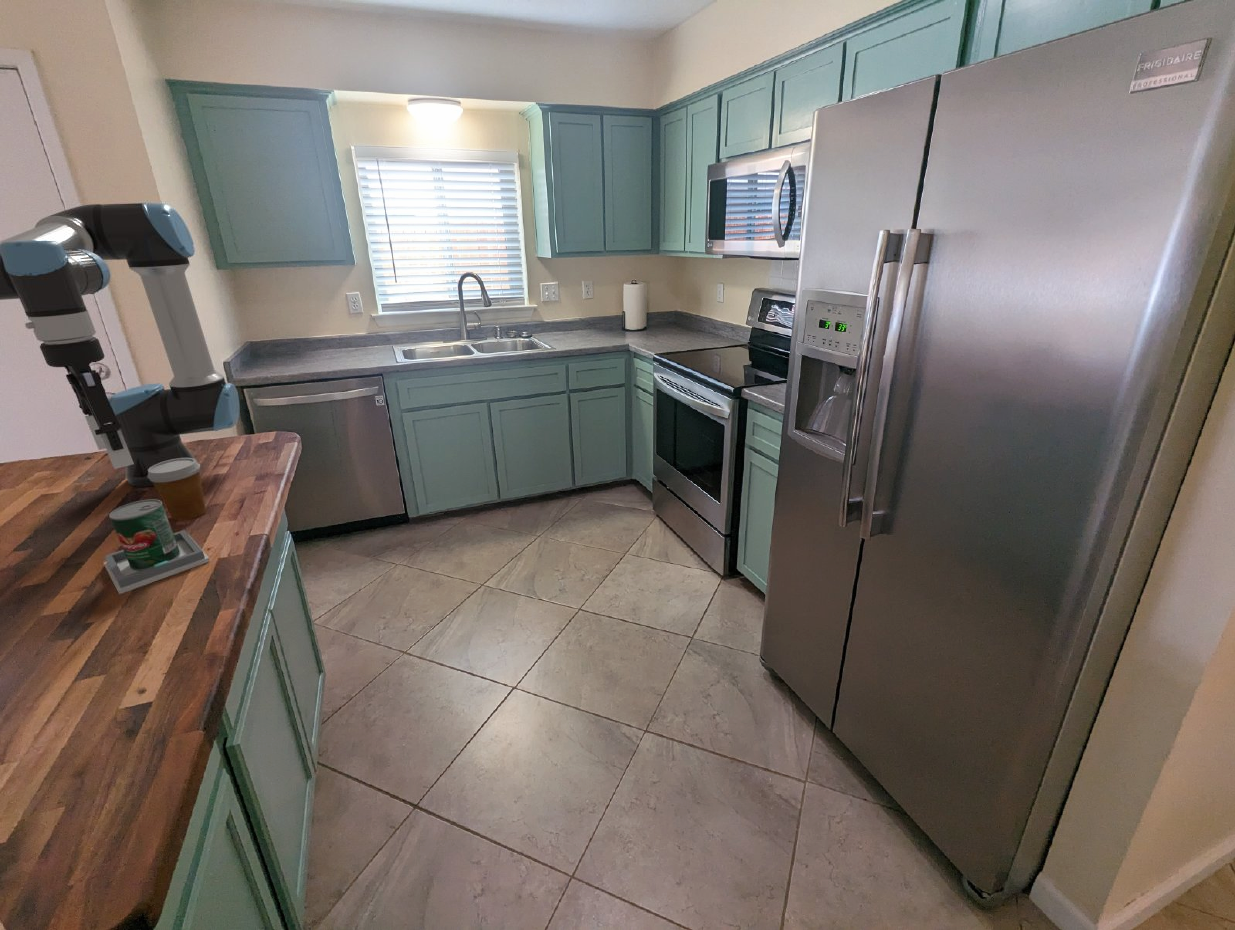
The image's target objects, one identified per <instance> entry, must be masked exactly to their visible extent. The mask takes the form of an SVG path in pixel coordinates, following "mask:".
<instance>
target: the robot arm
mask: <svg viewBox="0 0 1235 930" xmlns="http://www.w3.org/2000/svg"><path fill="white" fill-rule="evenodd" d="M194 245H195V244H194V240H193V238H192V234H191V233H190V231H189V228H188V226H187V224H186V222H185V221H184V219H183V218H182V216H181V215H180V214H179V212H178V211H177V210H176V209H174V208H173V207H172V206H171V205H168V204H166V203H159V202H158V203H154V202H141V203H139V202H137V203H136V202H134V203H104V204H103V203H102V204H99V203H97V204H96V203H94V204H92V203H91V204H85V205H79V206H75V207H72V208H69V209H68V208H67V209H65V210H62V211H59V212H56V213H53V214H51V215H48V216H45V217H43V218H40V220H38V221H37V223H36V224H35V226H34V227H33V228H31V229H28V230H26V231H24V232H21V233H19V234H16V235H13V236H11V237H9V238H5V239H4V240H0V301H2V300H3V301H4V300H16V299H17V300H18V299H19V301H20V303H21V305H22V308H23V310H24V313H25V315H26V317H27V319H28V320H29V321H30V322H26V323H25V324H24V325H25V328H26V329H28V330H32V329H33V331H32V332H33V334H34V336H35V338H36V340H37V341H39V342H42V343H41V344H40V345H39V349H40V351H41V354H42V355H43V358H44V360H45V363H46V364H47V366H49V367H53V368H64V369H66V372H67V374H66V375H65V377H66V379H67V381H68V384H69V385H70V386H71V389H72V390H73V393H74V394H75V397H76V399H77V402H78V404H79V405H78V407H79V409H81V410H82V411H81V412H82V414H83V415H85V416H84V418H85V420H86V422H87V425H88V427H89V430H90V433H91V434H92V436H93V440H94V442H95V444H96V446H97V449H98V451H101V450H106V452H107V454H108V457H109V459H110V462H111V465H112V468H114V470H117V469H119V468H124V467H125V478H126V479H127V482H128V485H130V486H133V487H138V488H142V487H143V488H145V487H155V486H154V484H153V482H152V481H150V479H149V478H148V477H147V475H148V469H149V468H150V467H152V466H153V465H155V464H158V463H160V462H164V461H167V460H172V459H177V458H194V459H195V460H196V461H197V458H196V457H195V456H194V455H193V454H192V453H191V451H190V449H189V448H188V447H187V446H186V445H185V443H183V441H182V439H181V435H188V434H196V433H204V432H205V433H206V432H218V431H221V430H227V429H232V428H234V427H235V426H236V425H237V423H238V421H239V417H240V398H239V392H238V390H237V388H236V386H235V384H233V383H230V382H226V380H225V377H224V375H223V374H222V373H220V372H218V371H216V369H215V367H214V364H213V360H212V357H211V354H210V351H209V348H208V344H207V341H206V337H205V335H204V332H203V329H202V324H201V322H200V318H199V315H198V312H197V309H196V305H195V302H194V298H193V295H192V291H191V290H190V286H189V283H188V279H187V277H186V271H187V269H188V268H189V267H190V266H191V265H190V260H189V258H191V257H193V256H194V255H195V252H196V250H195V247H194ZM106 260H107V261H114V260H117V261H119V260H120V261H121V260H125V261H126V263H127V265H128V268H129V269H130V270H131V271H133V272H134V273H135V274H138V275H139V276H140V279H141V281H142V285H143V288H144V291H145V294H146V296H147V299H148V303H149V305H150V309H151V312H152V314H153V317H154V321H155V323H156V324H155V325H156V326H157V329H158V333H159V335H160V338H161V341H162V344H163V347H164V350H165V354H166V357H167V359H168V362H169V365H170V368H171V371H172V374H173V376H172V377H173V378H172V379H171V380H170V381H169V383H168V385H169V388H170V389H169V388H168V389H165V386H164V385H163V384H162V383H149V384H143V385H140V386H136V387H131V388H127V389H125V390H123V391H120V392H119V391H118V392H117V393H114V394H113V395H111V396H110V397H109V398H108V396H107V393H106V389H105V387H104V385H103V384H102V381H103V380H102V377H101V375H100V373H99V372H97V370H95V369H93V370H92V367H91V364H92V363H98V362H100V361H102V360H103V359H105V353H104V349H103V348H102V345H101V343H100V340H99V338H97V337H96V336H94V335H96V333H97V331H96V329H95V326H94V324H93V320H92V319H91V316H90V315H91V314H90V313H89V310H88V309H87V307H86V304H85V302H84V299H83V296H86V295H94V294H96V293H99V291H102V290H103V289H105V288H106V287H107V286H108V285H109V282H110V281H111V271H110V268H109V266H108V264H107V263H106V262H105V261H106ZM197 462H198V461H197Z"/></svg>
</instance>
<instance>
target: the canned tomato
mask: <svg viewBox="0 0 1235 930" xmlns="http://www.w3.org/2000/svg"><path fill="white" fill-rule="evenodd" d="M108 516H109V519H110V521H111V523H112V524H111V525H112V526H113V528H114V532H115V534H116V535H117V539H118V541H119V543H120V545H121V549H122V550H124V553H125V555H126V557H127V560H128V562H129V565H130V568H131V569H132V570H135V571H141V570H144V569H147V568H149V567H152V566H154V565H156V564H159V563H161V562H164V561H169V560H172V559H175V558H177V557H178V556H179V555H180V550H179V548H178V545H177V542H176V539H175V537H174V534H173V533H174V532H173V528H172V526H171V524H170V521H169V518H168V515H167V513H166V510H165V507H164V505H163V501H162V500H160V499H156V498H155V499H154V498H150V499H149V498H148V499H142V500H141V499H140V500H137V501H133V502H130V503H127V504H124V505H122V506H119V507H116V508H115V509H113V510H112V511H111V512H110V513H109V514H108Z"/></svg>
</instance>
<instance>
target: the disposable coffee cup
mask: <svg viewBox="0 0 1235 930" xmlns="http://www.w3.org/2000/svg"><path fill="white" fill-rule="evenodd" d="M195 459H196V458H195ZM195 459H194V458H177V459H172V460H167V461H164V462H160V463H158V464H155V465H153V466H152V467H150V468H149V469H148V475H147V477H148V478H149V479H150V481H152V482H153V484H154V486H153V487H154V488H155V490H156V491H157V493H158V494H159V496H160V498H161V501H162V503H164V505H165V507H166V509H167V511H168V513H169V515H170V516H171V517H172V520H174V521H186V520H192V519H195V518H198V517H200V516H201V515H202V516H203V514H205V513H206V511H207V508H206V504H205V497H204V490H203V486H202V480H201V472H200V470H201V469H200V468H201V464H200V463H199V462H198V461H196V460H197V459H196V460H195Z"/></svg>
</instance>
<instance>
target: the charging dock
mask: <svg viewBox="0 0 1235 930" xmlns="http://www.w3.org/2000/svg"><path fill="white" fill-rule="evenodd" d="M173 534H174V537H175V539H176V542H177V545H178V548H179V550H180V555H179V556H178V557H177V558H175V559H172V560H169V561H164V562H161V563H159V564H156V565H154V566H152V567H149V568H147V569H144V570H141V571H135V570H132V569H131V568H130V565H129V562H128V560H127V557H126V555H125V553H124V550H123V549H120V550H119V551H115V552H112V553H108V554H105V555H104V559H105V561H104V562H103V566H104V567H105V570H106V572H107V573H108V575H109V577H110V579H111V581H112V583H113V585H114V587H115V589H116V590H117V592H118V594H119V595H122V594H125V593H128V592H130V591H133V590H135V589H138V588H141V587H144V586H146V585H149V584H152V583H154V582H157V581H159V580H162V579H165V578H168V577H170V576H171V577H172V576H173V575H176V574H179V573H182V572H185V571H187V570H190V569H192V568H195V567H198V566H201V565H205V564H206V563H209V562H211V561H210V558H209V556H208V555H207V554H206V553H205V552H204V550H203V549H202V548H201V547H200V546H199V545H198V544H197V542H196V541H195V540H194V539H193V538H192V537H191V535H190V534H188V532H187V531H186V530H185V529H182V530H179V531H177V532H173Z"/></svg>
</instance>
